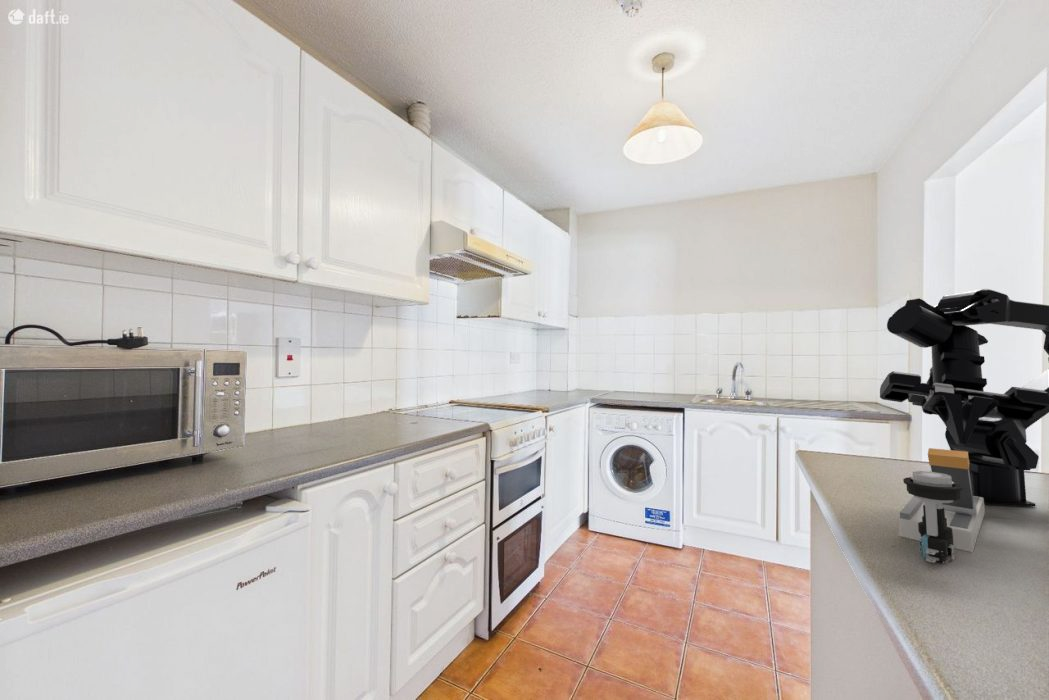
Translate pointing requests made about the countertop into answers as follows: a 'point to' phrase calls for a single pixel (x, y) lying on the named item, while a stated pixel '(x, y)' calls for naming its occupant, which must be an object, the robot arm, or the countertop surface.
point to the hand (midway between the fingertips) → (961, 444)
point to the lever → (955, 477)
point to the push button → (934, 512)
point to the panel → (961, 524)
